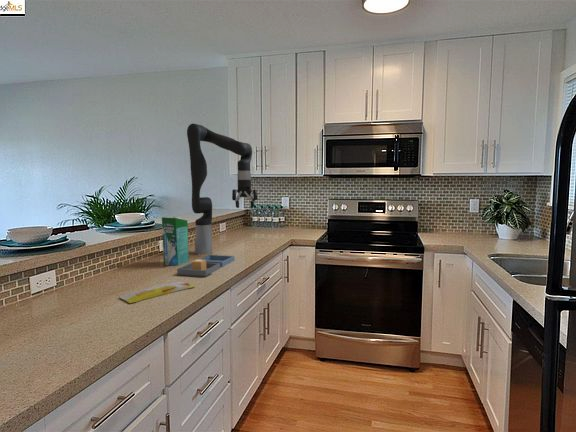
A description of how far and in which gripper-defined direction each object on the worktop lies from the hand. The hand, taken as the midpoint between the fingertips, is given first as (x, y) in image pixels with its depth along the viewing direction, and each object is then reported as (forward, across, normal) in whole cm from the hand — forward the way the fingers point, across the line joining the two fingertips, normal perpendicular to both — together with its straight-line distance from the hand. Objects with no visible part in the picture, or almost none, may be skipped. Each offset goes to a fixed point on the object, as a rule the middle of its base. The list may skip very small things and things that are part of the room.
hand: (244, 208), depth 208 cm
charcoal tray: (+28, -7, -39) cm, 48 cm away
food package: (+28, -6, -71) cm, 76 cm away
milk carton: (+28, -28, -27) cm, 48 cm away
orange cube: (+27, -7, -39) cm, 48 cm away
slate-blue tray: (+28, -8, -22) cm, 36 cm away
